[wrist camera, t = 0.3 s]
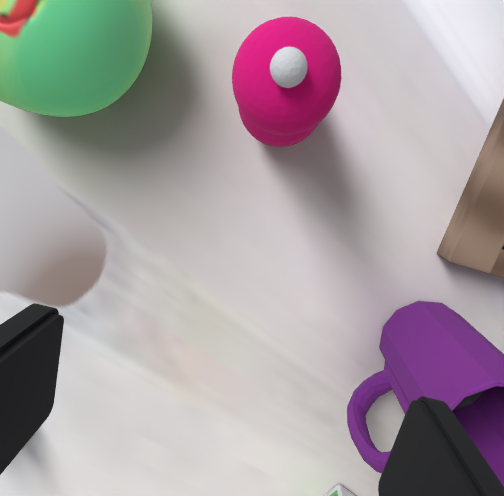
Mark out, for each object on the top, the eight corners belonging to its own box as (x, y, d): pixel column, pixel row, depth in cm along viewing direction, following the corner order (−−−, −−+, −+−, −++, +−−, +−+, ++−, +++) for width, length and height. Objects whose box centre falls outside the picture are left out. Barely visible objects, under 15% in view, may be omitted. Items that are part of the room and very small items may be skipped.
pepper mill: (263, 51, 36) (254, -61, 17) (332, 89, 36) (402, 23, 17) (228, 124, 38) (184, 101, 18) (295, 159, 38) (319, 173, 19)
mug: (482, 342, 42) (593, 445, 28) (366, 421, 45) (411, 551, 31) (431, 281, 41) (520, 356, 26) (315, 367, 44) (337, 477, 29)
